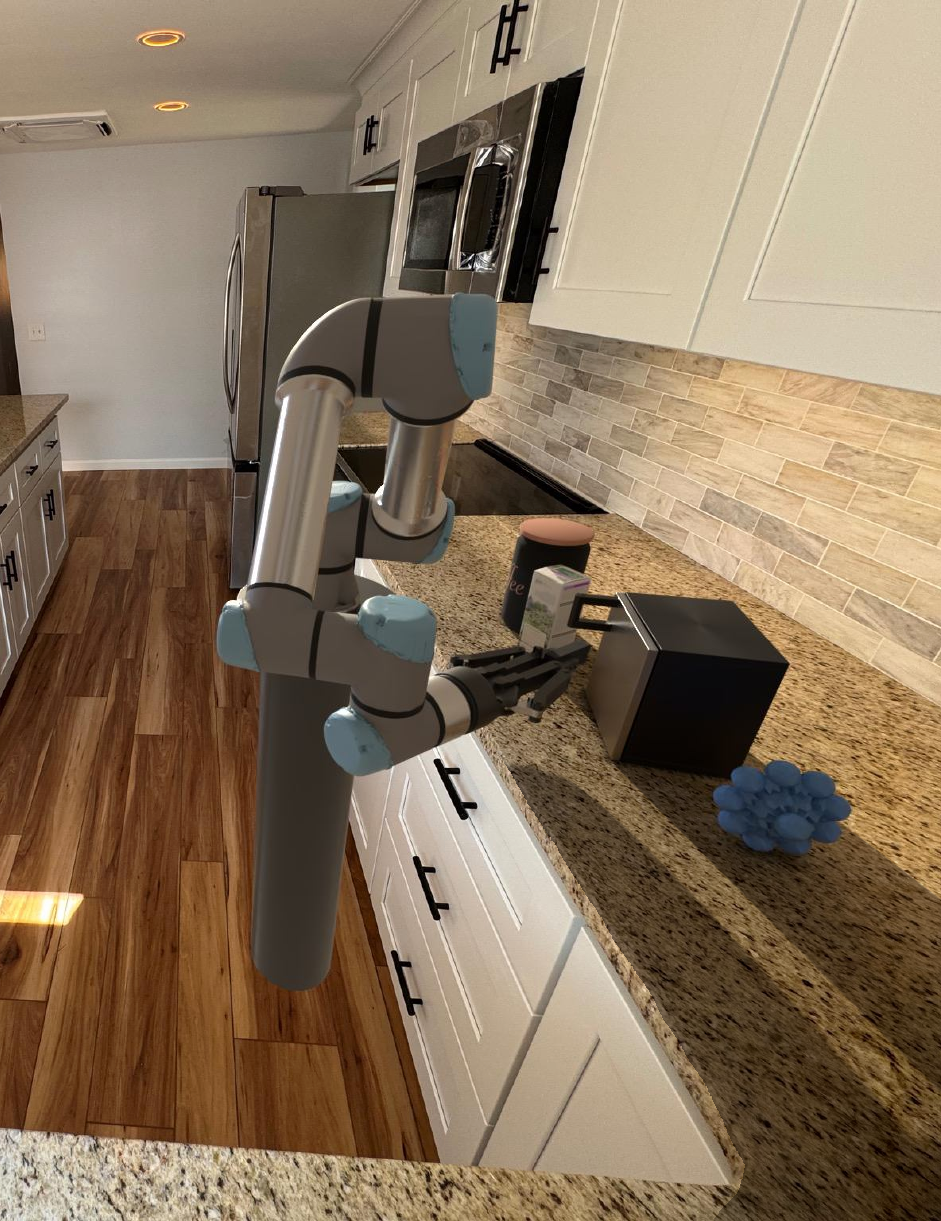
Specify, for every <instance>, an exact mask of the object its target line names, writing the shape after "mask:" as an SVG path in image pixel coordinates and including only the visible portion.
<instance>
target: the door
mask: <svg viewBox="0 0 941 1221" xmlns="http://www.w3.org/2000/svg"><path fill="white" fill-rule="evenodd" d="M583 605H584V606H593V607H603V608H610V609H609V613H608V616H607V619H606V620H603V619H595V618H584V617H581V618H580V614H581V611H582V607H583ZM583 608H584V607H583ZM582 612H583V611H582ZM581 615H582V614H581ZM567 626H568V627H569V628H576V629H577V630H587V631H594V632H595V631H596V632H602V635H601V639H600V641H599V645H598V648H597V652H596V655H595V658H594V662H593V665H592V668H591V671H590V674H589V677H588V681H587V684H586V687H585V691H584V693H585V695H586V698H587V701H588V704H589V707H590V709H591V711H592V715H593V717H594V719H595V723H596V725H597V727H598V730H599V732H600V735H601V739H602V740H603V743H604V746H605V748H606V751H607V754H608V756H609V759H610V760H613V761H619V762H620V761H621V759H620V757H621V754H622V751H623V749H624V746H625V743H626V740H627V737H628V735H629V732H630V729H631V726H632V723H633V721H634V718H635V715H636V712H637V709H638V707H639V704H640V701H641V698H642V695H643V693H644V690H645V687H646V684H647V681H648V679H649V676H650V673H651V670H652V667H653V665H654V662H655V659H656V656H657V653H658V649H657V648H656V646H655V644H654V643H653V641H652V639H651V638H650V636H649V634H648V632H647V631H646V629H645V627H644V626H643V624H642V622H641V621H640V619H639V617H638V616H637V614H636V612H635V611H634V609H633V607H632V606H631V604H630V602H629V601H628V599H627V597H626V596H625V592H619V591H618V592H617V591H616V592H615V593H614V595H605V594H595V593H594V594H592V593H588V594H583V593H576V594H575V598H574V601H573V605H572V608H571V612H570V616H569V619H568V623H567Z"/></svg>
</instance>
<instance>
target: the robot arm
mask: <svg viewBox="0 0 941 1221" xmlns="http://www.w3.org/2000/svg"><path fill="white" fill-rule="evenodd" d="M498 311H499V304H498V301H497V300H496V299H495V298H494V297H493V296H492V295H489V294H485V293H464V292H462V291H461V292H459V291H458V292H455V293H454V294H431V295H409V296H408V295H407V296H388V297H387V296H386V297H360V298H355V299H351V300H348V301H346V302H344V303H342V304H340V305H337V306H335V307H334V308H332V309H330V310H329V311H327V312H326V313H324V314H323V315H322V316H321V317H320V318H318V319H317V320H316V321H315V322H314V323H312V325H311V326H309V328H308V329H307V330H306V331H304V333H303V334H302V335H301V337H300V338H299V340H298V341H297V342H296V344H295V345H294V346H293V348H292V349H291V351H290V352H289V354H288V356H287V357H286V360H285V361H284V364H283V366H282V368H281V370H280V372H279V376H278V379H277V380H278V381H277V383H276V384H277V385H276V389H275V393H274V394H275V395H274V403H275V406H276V409H277V410H278V411H279V416H278V422H277V427H276V432H275V438H274V442H273V448H272V453H271V459H270V464H269V469H268V474H267V480H266V485H265V490H264V495H263V499H262V500H263V501H262V505H261V511H260V516H259V521H258V526H257V531H256V537H255V542H254V547H253V552H252V558H251V562H250V568H249V574H248V578H247V584H246V585H247V591H246V595H245V598H244V601H243V600H241V599H240V600H238V601H237V600H234V599H233V600H229V601H227V602H226V603H225V604H224V605H223V607H222V609H221V614H220V615H219V619H218V623H217V631H216V651H217V654H218V657H219V658H220V660H221V661H222V662H223V664H226V665H228V666H232V667H235V668H241V669H244V670H245V669H246V670H250V671H255V672H256V673H261V672H268V673H276V674H284V675H292V676H299V677H305V678H310V679H316V680H323V681H329V682H335V683H342V684H348V685H351V694H350V703H349V706H348V707H345V708H341V709H340V710H338V711H337V712H335V713H333V714H331V715H330V717H329V718H328V720H327V721H326V723H325V726H324V737H325V741H326V745H327V747H328V750H329V752H330V754H331V756H332V757H333V759H334V760H335V761H336V763H337V764H338V765H339V766H341V767H342V768H343V769H344V770H345V771H346V772H348V773H350V774H352V775H354V777H367V776H370V775H373V774H376V773H379V772H382V771H388V770H391V769H392V768H393V767H395V766H397V765H399V764H402V763H404V762H405V761H408V760H410V759H413V758H415V757H417V756H420V755H422V754H424V753H427V752H429V751H431V750H433V749H434V748H438V747H440V746H443V745H445V744H447V743H450V742H451V741H454V740H457V739H459V738H461V737H462V736H466V735H468V734H471V733H473V732H475V731H478V730H481V729H483V728H485V727H487V726H489V725H490V724H491V723H493V722H494V721H495V720H497V718H499V717H510V716H513V715H515V714H516V713H518V714H521V715H524V716H525V715H526V716H528V721H529V722H530V723H533V724H540V723H541V722H542V718H543V714H544V712H545V711H546V710H547V709H549V707H551V706H552V705H553V704H554V703H555V702H557V700H558V699H560V698H561V696H563V695H564V694H565V693H566V692H567V691H568V690H569V687H570V683H571V679H572V676H573V673H574V672H576V671H577V669H578V666H580V665H583V664H586V663H587V660H588V656H589V653H590V650H591V647H592V644H591V643H590V642H586V641H585V640H582V639H578V640H574V642H572V643H569V644H567V645H564V646H562V647H559V648H557V649H556V648H548V649H545V650H544V649H543V648H542V647H540V646H534V648H533V651H532V652H530V653H529V652H526V649H525V648H524V647H521V646H517V645H516V646H513V647H512V646H511V647H505V648H500V649H499V648H498V649H494V650H488V651H482V652H476V653H471V654H462V653H461V654H459V653H455V654H454V653H453V654H450V658H449V662H448V668H447V669H446V670H444V671H441V672H438V673H435V674H433V675H430V674H431V669H432V664H433V660H434V657H435V646H436V639H437V638H436V637H437V636H436V635H437V630H438V620H437V616H436V614H435V612H434V610H433V609H432V608H431V607H430V606H428V605H427V603H424V602H423V601H420V600H419V599H416V598H414V597H410V596H406V595H401V594H396V595H388V596H386V597H384V596H375V597H372V598H370V599H368V600H366V601H365V602H364V603H363V604H362V606H361V608H360V612H359V613H358V615H355V614H354V613H355V612H356V611H357V610H358V608H359V604H360V600H361V599H360V593H359V589H358V585H357V581H356V578H355V575H356V574H355V571H354V570H355V569H354V563H355V559H360V560H361V559H362V560H363V559H364V560H373V561H374V560H375V561H385V562H396V563H397V562H398V563H406V564H407V563H408V564H412V565H423V564H425V565H433V564H436V563H438V562H440V561H441V560H442V558H443V557H444V556H445V554H446V552H447V549H448V546H449V543H450V538H451V536H452V533H453V529H454V523H455V517H456V516H455V515H456V514H455V513H456V507H455V506H456V505H455V503H454V501H453V500H452V499H451V498H449V497H446V495H445V493H444V491H443V490H442V487H443V484H444V479H445V475H446V471H447V467H448V462H449V458H450V453H451V449H452V445H453V441H454V436H455V432H456V427H457V424H458V419H460V418H461V417H462V416H464V415H465V414H466V413H467V412H468V411H469V410H470V409H471V408H472V406H473V404H474V403H475V401H479V400H481V399H486V398H488V397H489V396H491V394H492V392H493V381H494V370H495V355H496V341H497V340H496V339H497V329H498V328H497V326H498ZM356 398H363V399H380V401H381V406H382V408H383V409H384V411H385V412H386V413H387V415H389V424H388V434H387V444H386V454H385V455H386V456H385V464H384V476H383V477H384V478H383V485H382V486H380V487H379V488H378V490H377V491H376V493H364V492H363V489H362V486H361V485H360V484H359V483H356V482H354V481H351V482H350V481H348V480H334V475H335V468H336V462H337V456H338V450H339V445H340V437H341V431H342V427H343V426H342V425H343V421H344V420H343V419H344V418H346V417H347V416H348V415H349V414H350V413H351V412H352V411H353V409H354V405H355V399H356ZM511 657H512V659H511ZM533 692H535V693H534V694H532V695H531V694H530V693H533ZM527 694H529V695H528V697H527V698H525V699H524V700H523V701H520V699H521V698H522V697H523V696H526V695H527Z"/></svg>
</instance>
